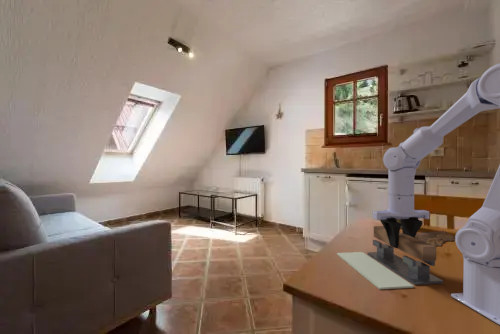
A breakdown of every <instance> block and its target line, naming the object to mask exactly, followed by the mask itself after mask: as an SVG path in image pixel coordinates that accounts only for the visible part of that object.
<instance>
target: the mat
mask: <svg viewBox="0 0 500 334" xmlns="http://www.w3.org/2000/svg"><path fill="white" fill-rule="evenodd" d="M336 255H337V256H338V257H339V258H341V259H342V260H343V261H344V262H346V263H347V264H348V265H349V266H350V267H351V268H353V269H354V270H355V271H357V272H358V273H359V274H360V275H361V276H362V277H363V278H365V279H366V280H367V281H369V283H371V284H372V285H373V286H374V287H376V288H377V289H378V290H392V289H393V290H394V289H395V290H396V289H411V288H414V287H415V285H414V284H412V283H411V282H409V281H408V280H406V279H405V278H403V277H401V276H400V275H398V274H397V273H395V272H394V271H392V270H391V269H389V268H388V267H386V266H384V265H383V264H381V263H380V262H378V261H377V260H375V259H374V258H372V257H371V256H369V255H367V253H364V252H363V251H357V252H356V251H354V252H352V251H351V252H350V251H349V252H336Z"/></svg>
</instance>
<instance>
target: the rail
mask: <svg viewBox="0 0 500 334" xmlns="http://www.w3.org/2000/svg"><path fill="white" fill-rule="evenodd" d="M373 238H375V239H376V240H379V241H380V242H383V243H384V244H387V245H389V246H390V243H389V239H388V236H387V233H386V230H385V228H384V226H383V225H373ZM396 249H397V250H400V251H402V252H404V253H405V254H408V255H410V256H411V257H414V258H416V259H418V260H419V261H420V260H422V261H421V262H423V261H435V262H436V261H437V246H434V245H432V244H429V243H426V242H424V241H421V240H419V239H416V238H414V237H411V236H409V235H406V234H403V232H402V231H400V232H399V244H398V248H396Z"/></svg>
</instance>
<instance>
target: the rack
mask: <svg viewBox="0 0 500 334" xmlns="http://www.w3.org/2000/svg"><path fill="white" fill-rule="evenodd" d="M372 246H374V247H376V251H372V252H370V251H369V252H368V251H367V253H366V255H368V256H369V257H371V258H372V259H374V260H375V261H377V262H378V263H380V264H381V265H383V266H385V267H386V268H388V269H389V270H391V271H392V272H394V273H395V274H397V275H398V276H400V277H401V278H403V279H404V280H406V281H407V282H409V283H411V284H412V285H414V286H420V285H421V286H423V285H438V284H444V280H443V279H441V278H439V277H437V276H436V275H433V273H432V274H431V273H430V271H431V270H430V268H431V267H434V266H436V261H422V260H421V261H420V260H416V259H413V258H412V257H409V256H408V255H403V256H402V257H400V256H398V255H397V254H394V253H395V252H394V249H395V248H394V247H392V246H390V245H389V244H387V243H382V241H380V240H379V241H378V239H372ZM430 266H431V267H430Z"/></svg>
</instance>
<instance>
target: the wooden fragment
mask: <svg viewBox="0 0 500 334" xmlns="http://www.w3.org/2000/svg"><path fill="white" fill-rule="evenodd" d="M415 238H416V239H419V240H421V241H424V242H426V243H429V244H432V245H434V246H436V247H442V245H443V244H444V243H446V242H452V241H455V236H454V235H453V234H451V233H448V232H447V231H444V230H437V231H424V232H417V233H416V235H415Z"/></svg>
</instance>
